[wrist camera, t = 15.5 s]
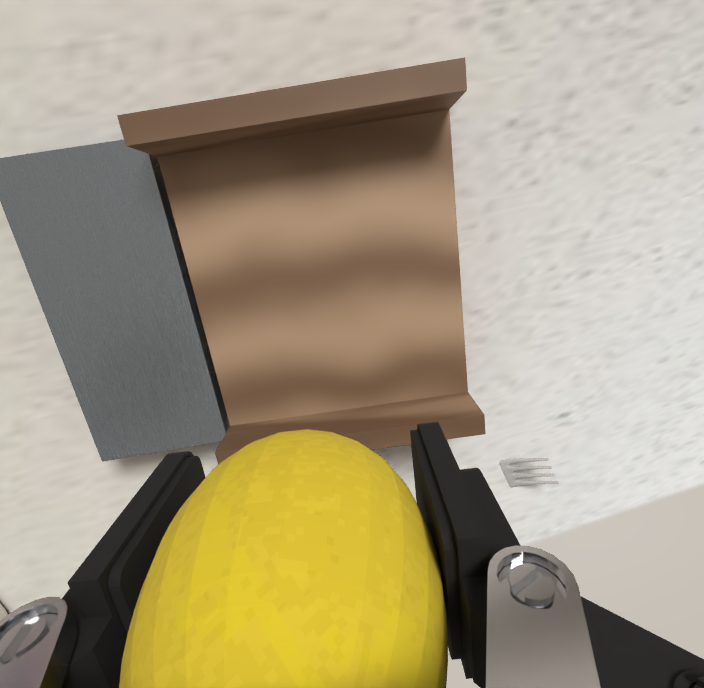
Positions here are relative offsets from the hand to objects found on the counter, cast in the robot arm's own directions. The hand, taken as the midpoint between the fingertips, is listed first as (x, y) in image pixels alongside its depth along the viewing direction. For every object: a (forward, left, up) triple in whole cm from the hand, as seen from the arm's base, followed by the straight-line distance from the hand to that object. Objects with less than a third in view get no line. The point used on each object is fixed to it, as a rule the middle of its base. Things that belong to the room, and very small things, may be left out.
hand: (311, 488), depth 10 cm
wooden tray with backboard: (+3, 0, -16) cm, 16 cm away
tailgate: (+3, +8, -13) cm, 16 cm away
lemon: (0, 0, -1) cm, 1 cm away
